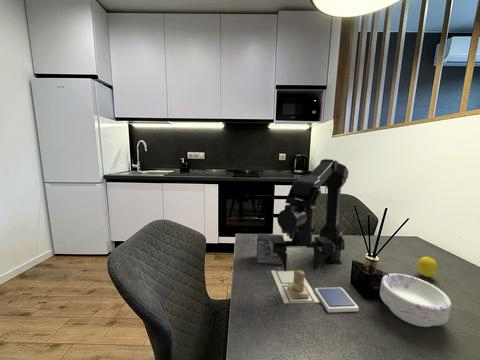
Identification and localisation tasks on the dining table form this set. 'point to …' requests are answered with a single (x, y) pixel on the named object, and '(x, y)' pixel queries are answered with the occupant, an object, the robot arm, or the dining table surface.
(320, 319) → the dining table surface
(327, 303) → the ink pad
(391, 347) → the dining table surface
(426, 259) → the lemon
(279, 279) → the print sheet
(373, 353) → the dining table surface
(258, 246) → the small box
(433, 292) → the paper bowls
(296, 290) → the stamp
